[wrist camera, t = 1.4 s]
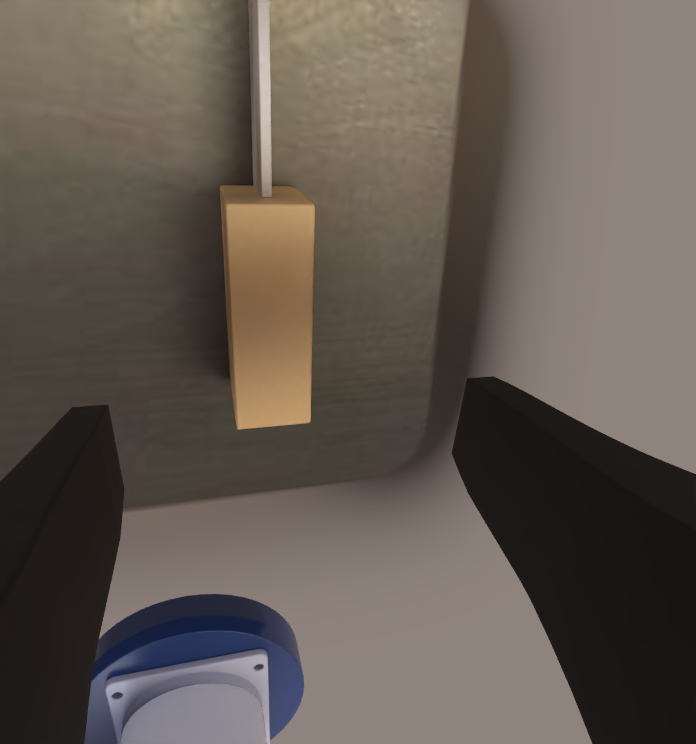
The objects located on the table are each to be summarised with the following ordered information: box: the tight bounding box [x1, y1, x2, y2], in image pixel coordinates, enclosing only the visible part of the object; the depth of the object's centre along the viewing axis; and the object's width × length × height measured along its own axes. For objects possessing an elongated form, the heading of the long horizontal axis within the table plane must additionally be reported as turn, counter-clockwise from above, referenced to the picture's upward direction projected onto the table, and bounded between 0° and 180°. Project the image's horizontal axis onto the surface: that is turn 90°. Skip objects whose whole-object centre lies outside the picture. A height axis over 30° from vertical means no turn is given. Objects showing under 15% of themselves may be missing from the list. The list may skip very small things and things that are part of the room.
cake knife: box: [220, 0, 315, 429], centre depth 15 cm, size 19×2×3 cm, turn 177°
